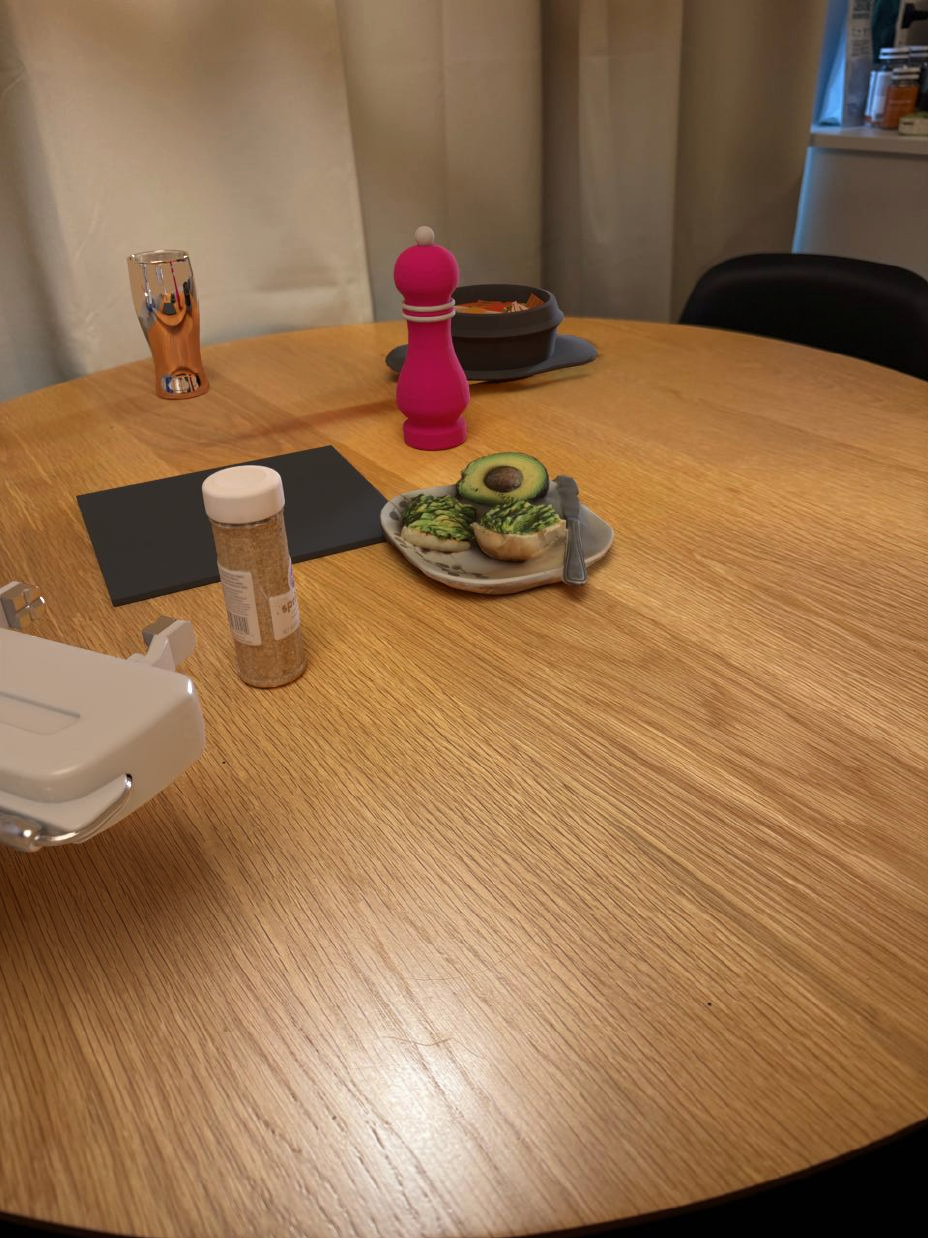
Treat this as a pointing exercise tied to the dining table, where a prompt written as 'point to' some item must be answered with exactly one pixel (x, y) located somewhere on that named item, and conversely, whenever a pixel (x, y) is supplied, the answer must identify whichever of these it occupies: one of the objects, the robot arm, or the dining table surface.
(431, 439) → the pepper mill
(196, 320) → the beer glass
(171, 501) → the slate mat
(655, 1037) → the dining table surface
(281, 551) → the spice jar
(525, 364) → the casserole
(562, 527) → the avocado toast plate
